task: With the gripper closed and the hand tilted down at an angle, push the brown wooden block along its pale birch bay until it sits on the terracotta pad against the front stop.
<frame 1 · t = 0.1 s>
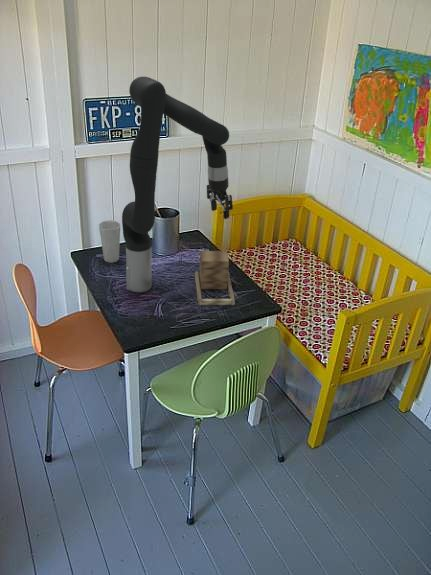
hand: (220, 214, 213), 22 cm above the table, tool pointing down, fingers open, 8 cm apart
cup: (111, 259, 224), on the table
bay: (213, 292, 206), on the table
brown wooden block: (213, 270, 206), point 7 cm above the table, slide at 9.0 cm
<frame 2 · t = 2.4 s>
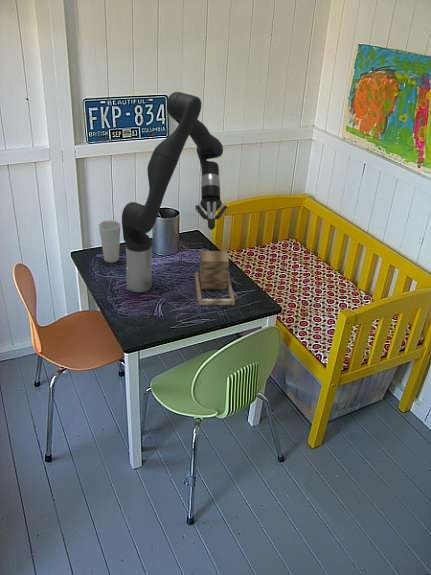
hand: (211, 228, 214), 17 cm above the table, tool tilted 45°, fingers closed
nothing on the table moved.
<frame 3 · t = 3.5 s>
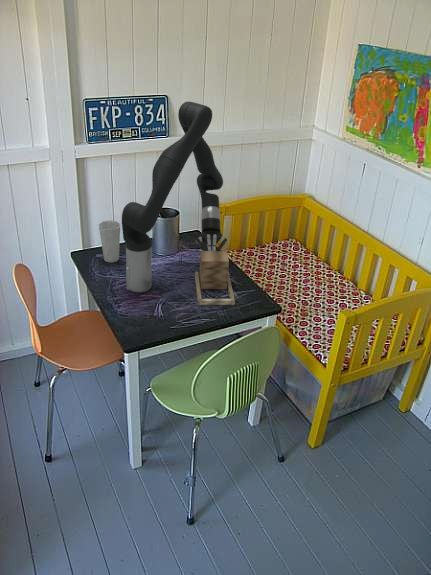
hand: (211, 261, 214), 6 cm above the table, tool tilted 45°, fingers closed
nothing on the table moved.
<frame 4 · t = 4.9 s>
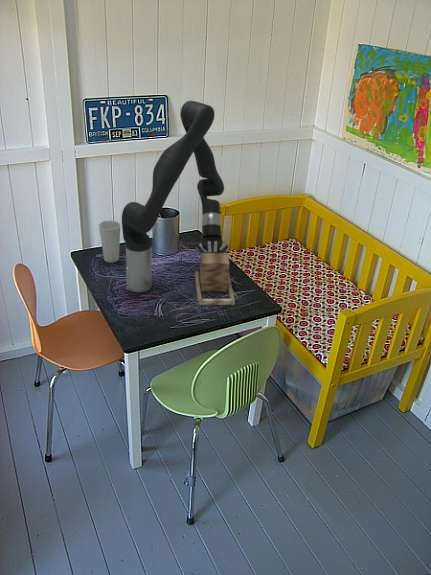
hand: (212, 269, 210), 6 cm above the table, tool tilted 45°, fingers closed
brown wooden block: (214, 272, 205), point 7 cm above the table, slide at 7.4 cm, touching gripper
everything else where it was.
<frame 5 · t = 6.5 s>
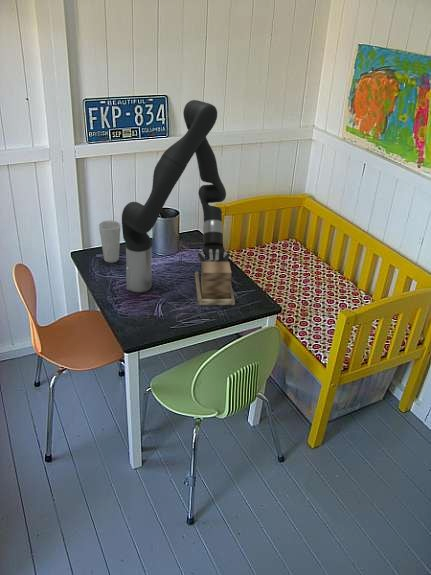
hand: (214, 277, 204), 6 cm above the table, tool tilted 45°, fingers closed
brown wooden block: (215, 281, 200), point 7 cm above the table, slide at 0.9 cm, touching gripper
everything else where it was.
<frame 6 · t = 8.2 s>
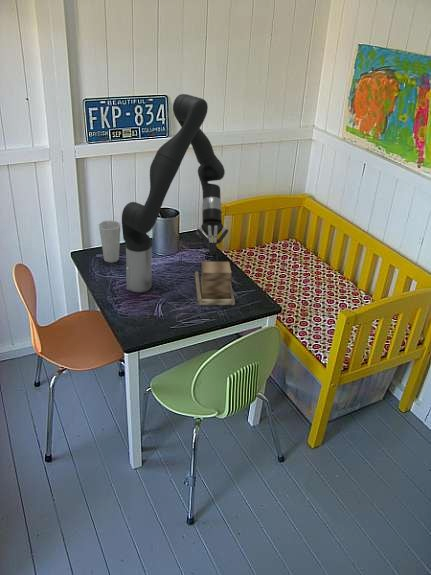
hand: (212, 253, 210), 11 cm above the table, tool tilted 45°, fingers closed
brown wooden block: (215, 281, 200), point 7 cm above the table, slide at 0.8 cm
everything else where it was.
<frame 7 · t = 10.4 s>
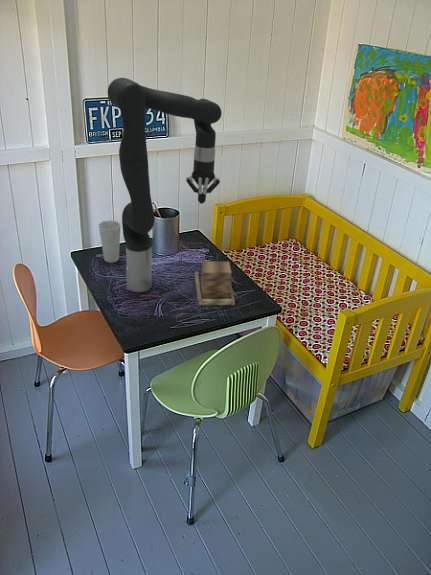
hand: (201, 202, 205), 29 cm above the table, tool pointing down, fingers closed
nothing on the table moved.
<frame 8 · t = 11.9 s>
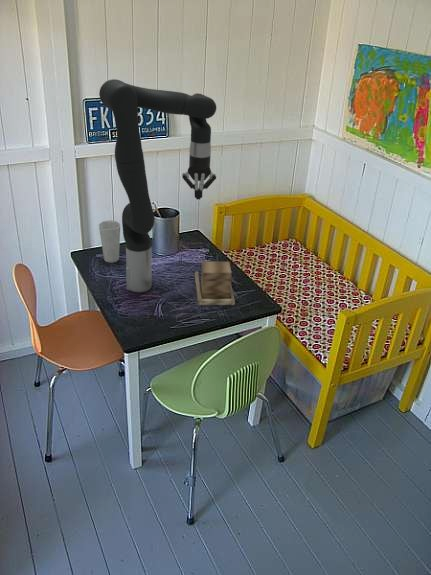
hand: (198, 198, 203), 31 cm above the table, tool pointing down, fingers closed
nothing on the table moved.
at the end: brown wooden block slide at 0.8 cm; brown wooden block 0.6 cm from the target spot, point 7.2 cm above the table; the gripper is holding nothing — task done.
